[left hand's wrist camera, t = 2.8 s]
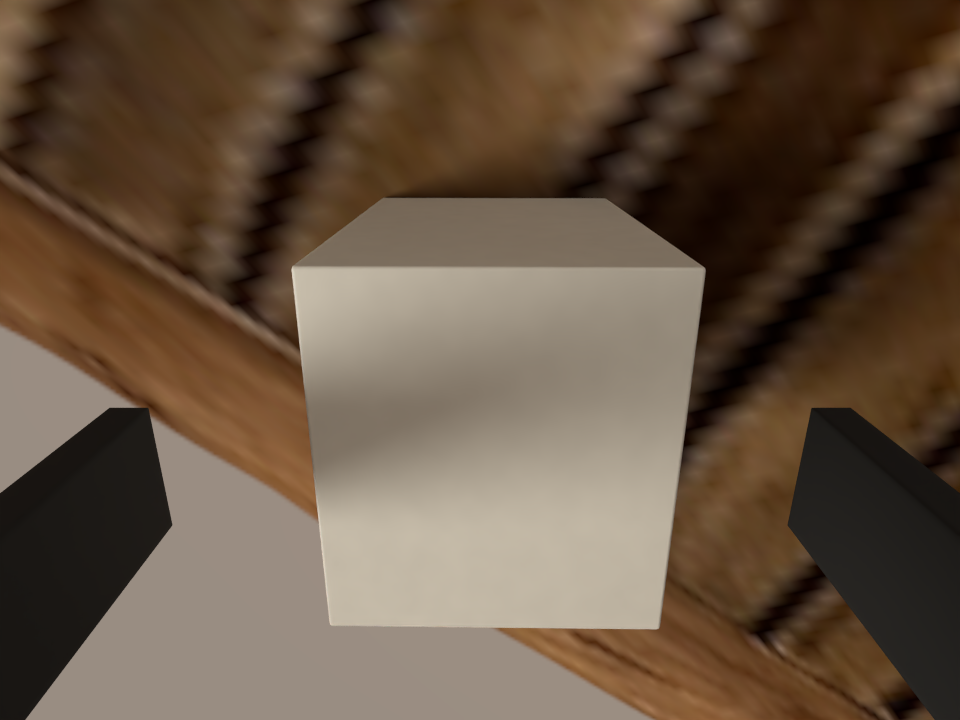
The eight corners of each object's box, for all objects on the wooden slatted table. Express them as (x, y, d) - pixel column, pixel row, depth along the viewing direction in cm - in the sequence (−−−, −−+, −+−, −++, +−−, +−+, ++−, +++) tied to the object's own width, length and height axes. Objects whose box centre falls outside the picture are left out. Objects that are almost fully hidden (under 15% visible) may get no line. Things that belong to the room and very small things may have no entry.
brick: (382, 197, 21) (290, 266, 11) (606, 198, 21) (707, 267, 11) (394, 421, 24) (329, 627, 14) (590, 422, 24) (660, 630, 14)
